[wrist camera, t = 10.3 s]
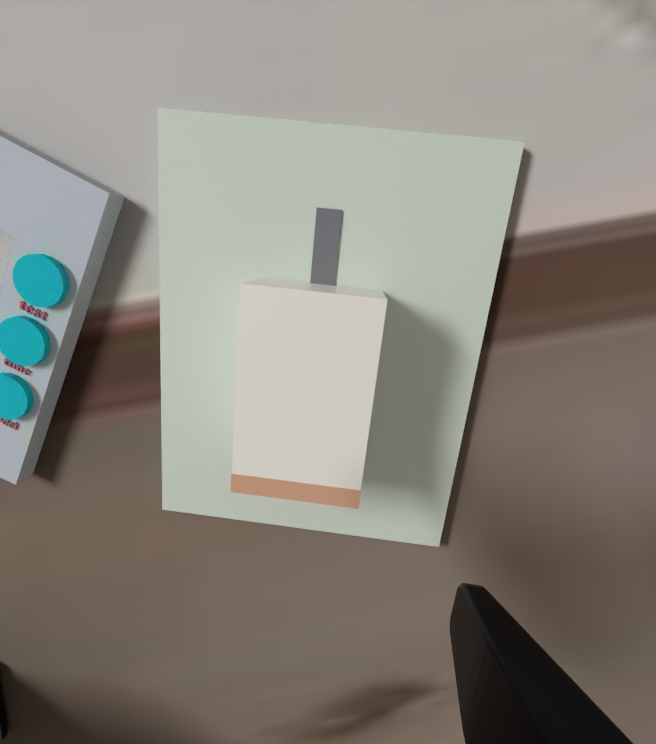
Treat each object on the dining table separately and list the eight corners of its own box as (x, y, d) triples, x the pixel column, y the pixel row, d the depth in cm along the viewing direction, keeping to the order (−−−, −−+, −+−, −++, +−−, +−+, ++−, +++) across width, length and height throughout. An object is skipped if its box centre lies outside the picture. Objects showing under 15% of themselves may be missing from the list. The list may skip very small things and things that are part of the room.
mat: (437, 540, 21) (439, 548, 20) (167, 503, 21) (161, 510, 21) (519, 145, 16) (525, 141, 15) (163, 112, 16) (156, 106, 16)
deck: (382, 290, 17) (387, 299, 14) (358, 464, 19) (358, 509, 16) (262, 277, 17) (239, 283, 14) (252, 450, 19) (230, 492, 16)
